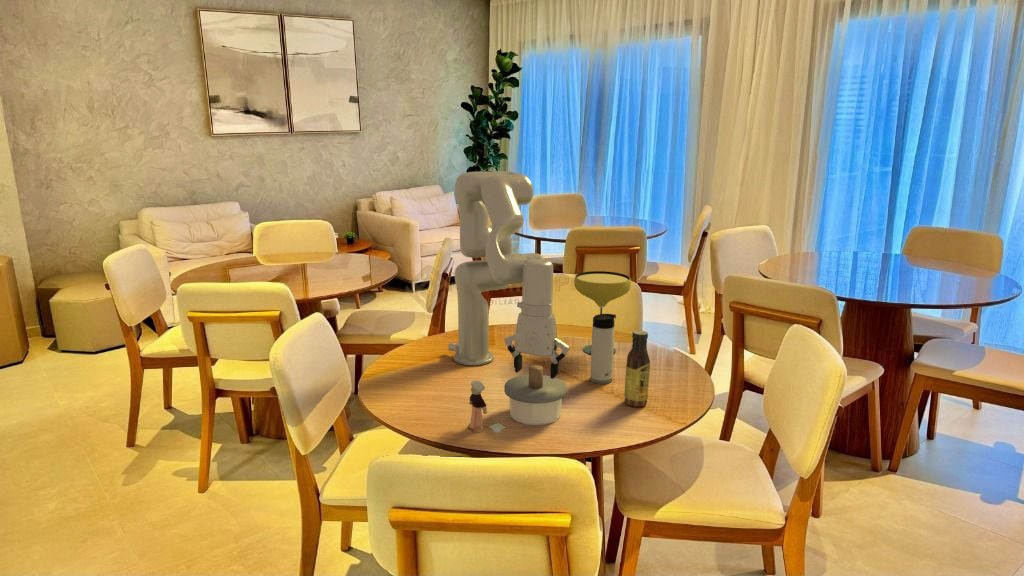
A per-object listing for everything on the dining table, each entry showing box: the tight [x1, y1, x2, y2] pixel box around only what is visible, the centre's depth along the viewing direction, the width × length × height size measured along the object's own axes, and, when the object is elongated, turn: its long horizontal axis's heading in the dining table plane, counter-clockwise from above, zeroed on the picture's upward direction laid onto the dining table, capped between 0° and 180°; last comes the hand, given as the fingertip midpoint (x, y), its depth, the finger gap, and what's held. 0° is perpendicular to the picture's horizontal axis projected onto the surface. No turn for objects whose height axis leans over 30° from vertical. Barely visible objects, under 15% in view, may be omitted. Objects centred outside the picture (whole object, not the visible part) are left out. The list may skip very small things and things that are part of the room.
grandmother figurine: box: [467, 379, 488, 433], centre depth 162 cm, size 8×4×13 cm, turn 45°
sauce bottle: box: [624, 330, 651, 408], centre depth 177 cm, size 7×6×20 cm
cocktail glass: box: [573, 270, 632, 356], centre depth 217 cm, size 18×18×25 cm
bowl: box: [509, 397, 563, 426], centre depth 171 cm, size 13×13×6 cm
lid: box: [503, 364, 568, 403], centre depth 169 cm, size 16×16×6 cm
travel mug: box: [590, 313, 617, 385], centre depth 192 cm, size 6×7×20 cm
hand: (535, 373), depth 169 cm, fingers open, 9 cm apart
